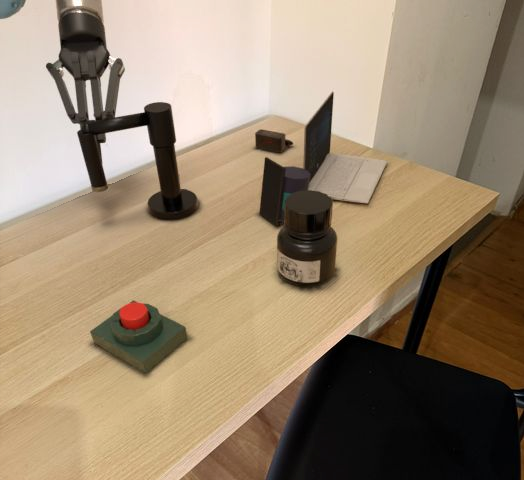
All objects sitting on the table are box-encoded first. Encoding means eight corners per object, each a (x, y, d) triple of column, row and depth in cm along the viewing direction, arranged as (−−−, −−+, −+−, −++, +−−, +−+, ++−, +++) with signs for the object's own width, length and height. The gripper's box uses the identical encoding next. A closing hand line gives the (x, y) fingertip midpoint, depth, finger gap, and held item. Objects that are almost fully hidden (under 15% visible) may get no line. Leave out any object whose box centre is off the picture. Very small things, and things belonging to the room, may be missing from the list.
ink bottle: (264, 270, 83) (261, 200, 75) (303, 247, 87) (305, 179, 79) (309, 298, 78) (312, 226, 70) (348, 272, 82) (355, 202, 74)
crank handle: (176, 166, 95) (167, 100, 87) (183, 176, 93) (174, 109, 84) (89, 184, 91) (71, 116, 83) (94, 195, 88) (75, 126, 80)
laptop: (367, 206, 96) (376, 135, 87) (301, 196, 100) (303, 126, 91) (387, 164, 108) (396, 97, 99) (327, 155, 112) (331, 90, 103)
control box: (93, 343, 72) (86, 321, 70) (136, 311, 77) (130, 289, 74) (145, 373, 68) (140, 351, 65) (187, 338, 73) (183, 316, 70)
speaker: (267, 229, 91) (271, 170, 85) (259, 214, 95) (262, 157, 89) (309, 226, 93) (316, 168, 86) (298, 211, 97) (305, 155, 91)
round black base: (138, 211, 97) (125, 147, 89) (172, 191, 102) (162, 128, 94) (174, 225, 93) (164, 160, 85) (207, 204, 99) (200, 140, 90)
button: (116, 323, 70) (113, 313, 68) (136, 308, 72) (133, 298, 70) (135, 333, 68) (132, 323, 67) (155, 318, 70) (152, 308, 69)
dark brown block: (284, 154, 113) (284, 139, 110) (254, 148, 115) (254, 133, 113) (293, 146, 116) (293, 131, 113) (264, 140, 118) (264, 125, 116)
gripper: (124, 34, 94) (138, 166, 94) (49, 39, 93) (63, 172, 93) (115, 7, 87) (131, 149, 87) (34, 11, 86) (49, 156, 86)
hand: (96, 161), depth 90 cm, fingers closed
